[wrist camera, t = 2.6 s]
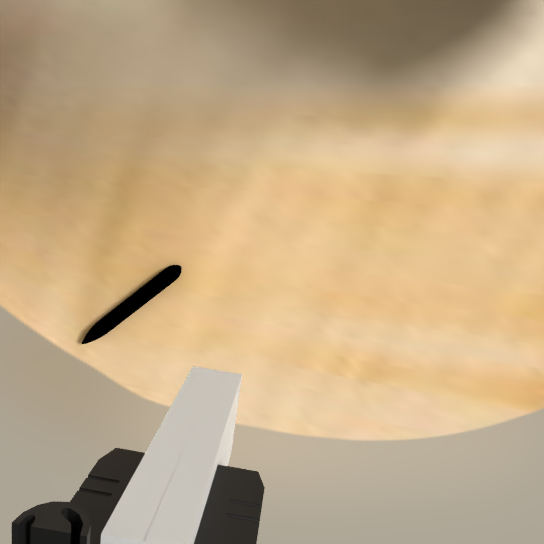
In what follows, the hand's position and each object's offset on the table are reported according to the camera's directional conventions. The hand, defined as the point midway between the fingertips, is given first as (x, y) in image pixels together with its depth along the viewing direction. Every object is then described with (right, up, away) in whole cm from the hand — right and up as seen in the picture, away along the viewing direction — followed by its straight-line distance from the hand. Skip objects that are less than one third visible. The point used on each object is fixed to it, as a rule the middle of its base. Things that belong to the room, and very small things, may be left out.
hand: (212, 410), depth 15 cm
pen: (-13, +1, +37) cm, 40 cm away
